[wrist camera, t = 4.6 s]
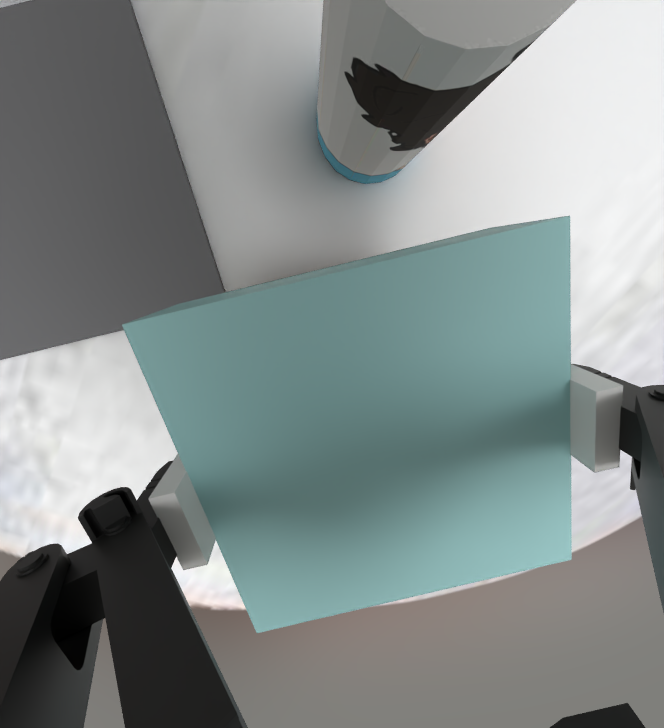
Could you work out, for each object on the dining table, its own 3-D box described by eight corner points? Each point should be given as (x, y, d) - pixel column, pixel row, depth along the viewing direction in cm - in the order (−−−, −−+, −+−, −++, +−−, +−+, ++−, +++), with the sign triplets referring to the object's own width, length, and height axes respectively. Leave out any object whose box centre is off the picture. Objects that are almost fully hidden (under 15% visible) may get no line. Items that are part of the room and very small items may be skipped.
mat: (-191, 62, 19) (-201, 58, 18) (124, -16, 19) (121, -22, 18) (-16, 363, 24) (-21, 364, 24) (228, 303, 24) (227, 304, 24)
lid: (189, 299, 14) (121, 324, 9) (475, 230, 14) (570, 215, 9) (271, 526, 18) (256, 633, 13) (496, 473, 17) (571, 559, 12)
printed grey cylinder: (414, 187, 23) (597, 64, 8) (314, 180, 22) (325, 33, 8) (428, 66, 21) (698, -369, 6) (318, 54, 20) (344, -451, 6)
